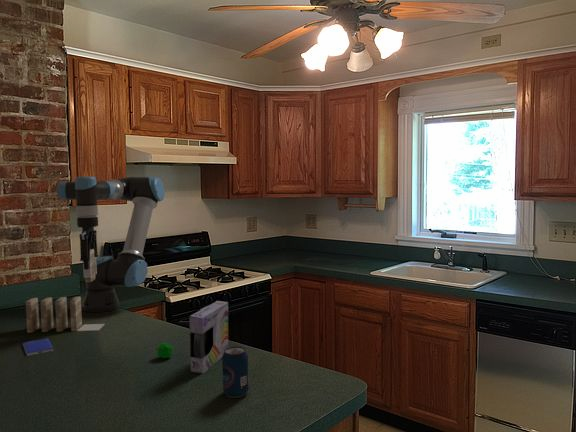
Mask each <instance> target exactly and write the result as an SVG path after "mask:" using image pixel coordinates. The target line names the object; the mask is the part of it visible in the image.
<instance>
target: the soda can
mask: <svg viewBox="0 0 576 432" xmlns="http://www.w3.org/2000/svg"><path fill="white" fill-rule="evenodd" d="M221 360H222V361H221V363H222V368H221V369H222V391H223V393H224V394H225V395H226V397H228V398H232V399H233V398H234V399H236V398H241V397H244V396H246V395H247V393H248V391H249V389H250V387H249V384H250V383H249V381H250V380H249V379H250V378H249V355H248V353H247V349H246V348H245V347H242V346H230V347H229V346H228V348H227V349H225V350H224V354H223V356H222V358H221Z"/></svg>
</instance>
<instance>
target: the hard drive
mask: <svg viewBox="0 0 576 432" xmlns="http://www.w3.org/2000/svg"><path fill="white" fill-rule="evenodd" d="M51 343H52V342H51V341H50V339H49V338H43V339H37V340H31V341H26V342H23V343H22V346H23V348H24V352H25V354H26V356H27V357H28V356H33V355H39V354H44V353H49V351H50V352H54V351H55V350H54V347H53V345H52V344H51Z"/></svg>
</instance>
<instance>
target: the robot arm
mask: <svg viewBox="0 0 576 432" xmlns="http://www.w3.org/2000/svg"><path fill="white" fill-rule="evenodd" d="M55 190H56V195H57V197H58V198H59V199H60V200H62V201H76V204H75V205H76V207H75V211H76V216H77V218H76V225H77V227H78V228H82V230H81V233H79V246H80V247H79V249H80V258H79V259H80V262H82V267H83V268H82V269H83V278H84V279H85V278H91V277H92V275H91V260H90V249H94V257H95V278H96V279H95V280H93V281H92V282H86V281H85V284H86V294H85V298H84V302H83V305H82V307H83V311H84V312H86V313H87V312H88V313H104V312H110V311H113V310H116V309H118V308H119V307H120V302H119V299H118V296H117V293H116V290H115V287H128V288H131V287H139V286H140V285H142V284H143V283H144V282H145V280H146V277H147V275H148V268H149V267H148V263H147V262H146V261H145V259H146V258H145V257H144V255H143V254H144V249H145V246H146V245H145V244H146V241H147V240H146V239H147V235H148V232H149V227H150V223H151V218H152V214H153V209H155V208H157V206H158V202H162V201H163V200H164V198H165V187H164V184H163V181H162V179H160V177H157V176H150V175H149V176H129V177H128V176H127V177H122V178H115V179H114V178H113V179H110V180H97V178H96V177H95V176H77V177H75V181H60V182H59V183H58V184H57V185H56V189H55ZM109 199H110V200H115V201H116V200H117V201H119V200H120V201H127V202H132V204H133V208H132V212H131V215H130V216H131V217H130V220H129V226H128V229H127V234H126V237H125V240H124V246H123V249H122V251H121V252H119V253H118V254H117V259H114V256H113V255H106V256H99V254H98V241H97V230H95V229H94V228H96V227H98V226H99V217H98V215H99V213H98V201H104V200H105V201H106V200H109Z"/></svg>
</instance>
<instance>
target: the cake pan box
mask: <svg viewBox="0 0 576 432" xmlns="http://www.w3.org/2000/svg"><path fill="white" fill-rule="evenodd" d="M189 348H190V349H189V353H190V354H189V356H190V357H189V358H190V372H191V373H196V374H204V373H205V372H207V371H208V370H209V369H210V368H212V366H214V365H215V364H216V363H218V361H220V360H222V356H223V354H224V350H225V349H227V348H229V302H228V301H222V300H216V301H215V302H213V303H211V304H209V305H206V306H204V307H202V308H201V309H199V310H198V311H197V312H195V313H192V314H191V315H189Z"/></svg>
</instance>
